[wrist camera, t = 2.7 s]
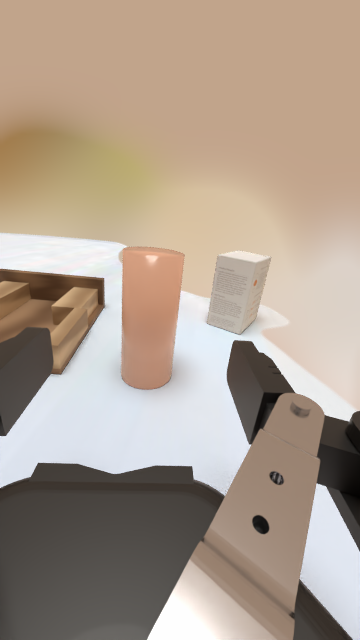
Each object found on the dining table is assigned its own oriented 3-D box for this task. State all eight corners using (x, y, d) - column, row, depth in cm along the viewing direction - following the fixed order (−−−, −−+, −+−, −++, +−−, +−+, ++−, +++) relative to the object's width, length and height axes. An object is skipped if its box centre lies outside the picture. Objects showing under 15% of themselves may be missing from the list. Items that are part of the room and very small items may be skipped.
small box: (225, 310, 44) (237, 249, 40) (256, 319, 42) (272, 256, 38) (205, 323, 38) (216, 253, 34) (240, 335, 35) (257, 261, 31)
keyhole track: (-113, 364, 22) (-133, 317, 20) (6, 298, 39) (0, 268, 37) (60, 374, 24) (56, 330, 22) (104, 306, 40) (104, 278, 38)
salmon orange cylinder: (116, 387, 23) (117, 254, 18) (125, 357, 27) (127, 244, 22) (171, 390, 23) (186, 260, 18) (170, 360, 28) (182, 250, 23)
